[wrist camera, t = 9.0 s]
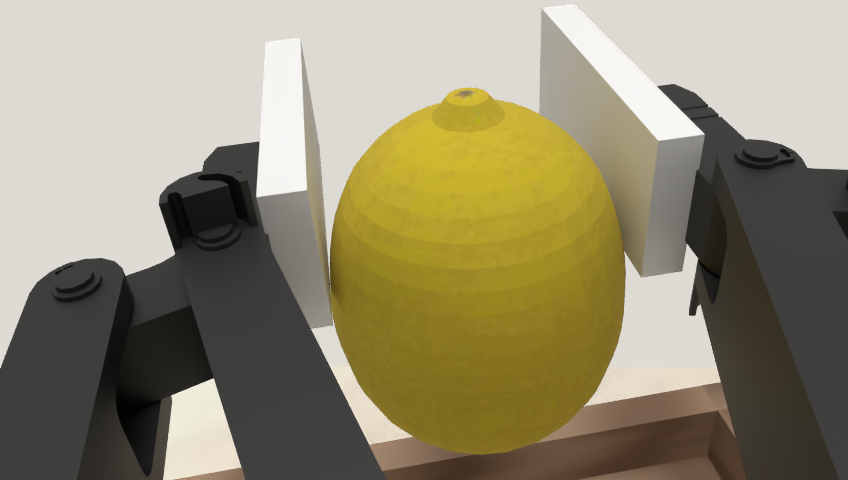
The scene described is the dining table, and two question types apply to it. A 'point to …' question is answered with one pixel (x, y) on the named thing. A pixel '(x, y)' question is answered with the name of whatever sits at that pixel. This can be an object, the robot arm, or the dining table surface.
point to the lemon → (477, 275)
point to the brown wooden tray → (589, 446)
